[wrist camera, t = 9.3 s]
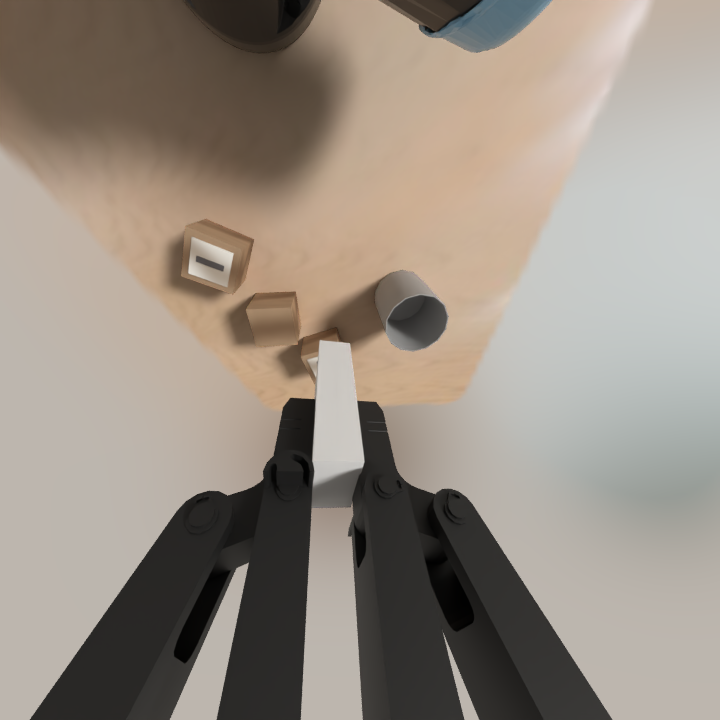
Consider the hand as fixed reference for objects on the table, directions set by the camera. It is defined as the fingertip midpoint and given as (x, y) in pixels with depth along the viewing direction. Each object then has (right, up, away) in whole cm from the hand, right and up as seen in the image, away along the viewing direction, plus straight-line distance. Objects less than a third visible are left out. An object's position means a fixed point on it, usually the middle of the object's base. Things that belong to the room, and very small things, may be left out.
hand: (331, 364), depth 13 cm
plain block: (-12, +8, +28) cm, 31 cm away
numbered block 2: (-5, +3, +33) cm, 33 cm away
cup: (+8, +11, +29) cm, 32 cm away
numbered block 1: (-17, +15, +22) cm, 32 cm away
